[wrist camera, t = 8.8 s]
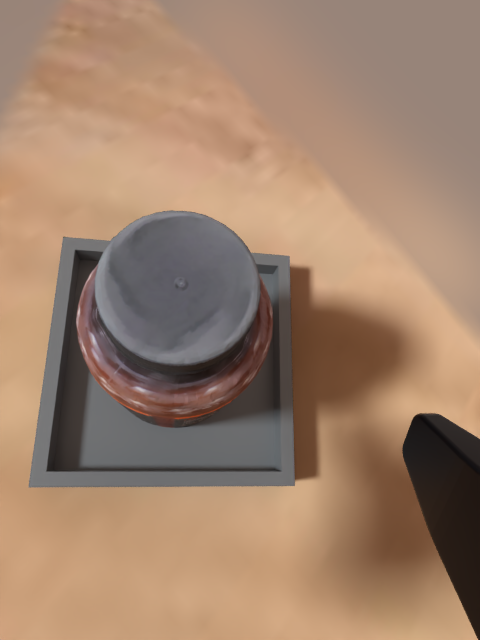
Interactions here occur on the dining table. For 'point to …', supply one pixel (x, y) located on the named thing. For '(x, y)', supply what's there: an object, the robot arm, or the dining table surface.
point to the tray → (151, 440)
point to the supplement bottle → (175, 318)
